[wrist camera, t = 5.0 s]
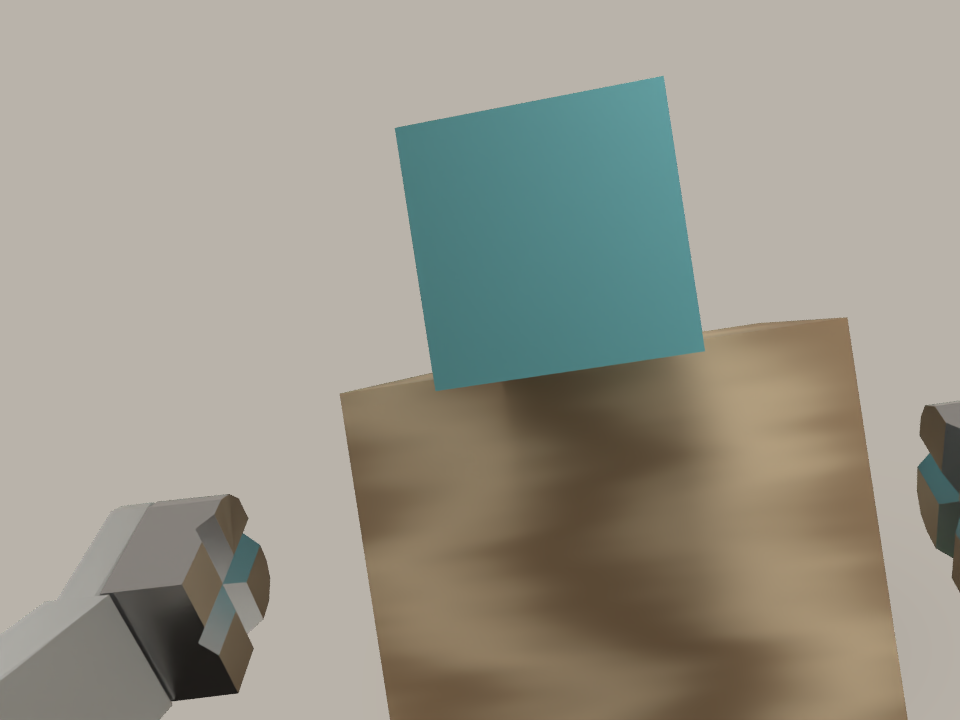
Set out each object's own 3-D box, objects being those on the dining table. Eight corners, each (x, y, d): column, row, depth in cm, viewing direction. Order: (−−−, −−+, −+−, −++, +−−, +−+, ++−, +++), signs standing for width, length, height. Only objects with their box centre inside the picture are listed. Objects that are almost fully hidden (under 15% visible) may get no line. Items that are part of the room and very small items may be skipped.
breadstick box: (434, 391, 13) (394, 127, 13) (538, 356, 33) (522, 250, 33) (705, 351, 13) (663, 76, 13) (647, 340, 33) (630, 231, 33)
